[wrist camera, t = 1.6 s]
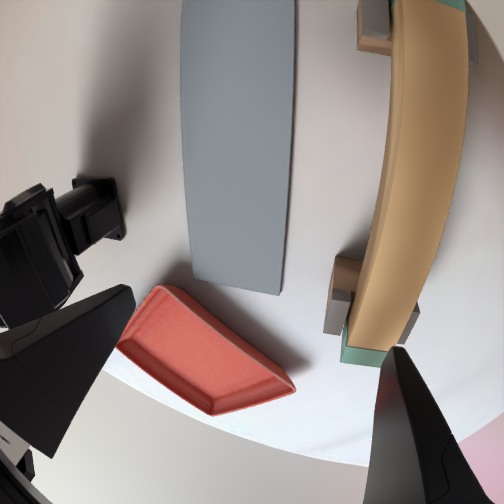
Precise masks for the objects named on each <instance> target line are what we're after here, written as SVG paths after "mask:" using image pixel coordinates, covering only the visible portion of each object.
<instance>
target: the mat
mask: <svg viewBox="0 0 504 504" xmlns="http://www.w3.org/2000/svg"><path fill="white" fill-rule="evenodd" d="M294 57H295V0H183V2H182V21H181V55H180V96H181V132H182V154H183V171H184V186H185V199H186V211H187V222H188V232H189V242H190V251H191V260H192V268H193V277H194V279H198V280H203V281H208V282H212V283H217V284H222V285H226V286H231V287H236V288H241V289H246V290H251V291H256V292H261V293H266V294H271V295H276V296H279V295H280V289H281V278H282V268H283V256H284V245H285V232H286V219H287V206H288V191H289V176H290V159H291V140H292V119H293V94H294Z"/></svg>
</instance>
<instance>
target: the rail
mask: <svg viewBox="0 0 504 504" xmlns="http://www.w3.org/2000/svg"><path fill="white" fill-rule="evenodd" d="M389 11H391V36H392V64H391V90H390V105H389V117H388V128H387V137H386V145H385V153H384V160H383V167H382V174H381V180H380V186H379V192H378V197H377V203H376V208H375V213H374V218H373V223H372V227H371V232H370V236H369V241H368V245H367V249H366V253H365V257H364V261H363V265H362V269H361V273H360V276H359V280H358V284H357V287H356V291H355V294H354V298H353V301H352V304H351V308H350V311H349V313H348V314H347V318H346V321H345V324H344V327H343V333H342V346H341V357H340V362H342V363H349V364H356V365H363V366H371V367H380V368H381V365H382V362H383V360H384V358H385V357H386V355H387V353H388V351H389V349H390V348H391V347H392V346H396V344H397V342H398V340H399V338H400V336H401V334H402V332H403V330H404V328H405V326H406V324H407V322H408V320H409V318H410V316H411V313H412V311H413V309H414V307H415V305H416V302H417V300H418V298H419V295H420V293H421V291H422V288H423V286H424V283H425V281H426V278H427V276H428V273H429V271H430V268H431V265H432V263H433V260H434V257H435V254H436V251H437V248H438V245H439V242H440V239H441V236H442V233H443V230H444V226H445V223H446V219H447V216H448V212H449V209H450V205H451V201H452V197H453V193H454V188H455V184H456V179H457V175H458V170H459V164H460V159H461V153H462V146H463V140H464V132H465V124H466V114H467V101H468V74H469V65H468V39H467V26H466V17H465V13H466V7H465V1H464V0H389Z"/></svg>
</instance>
